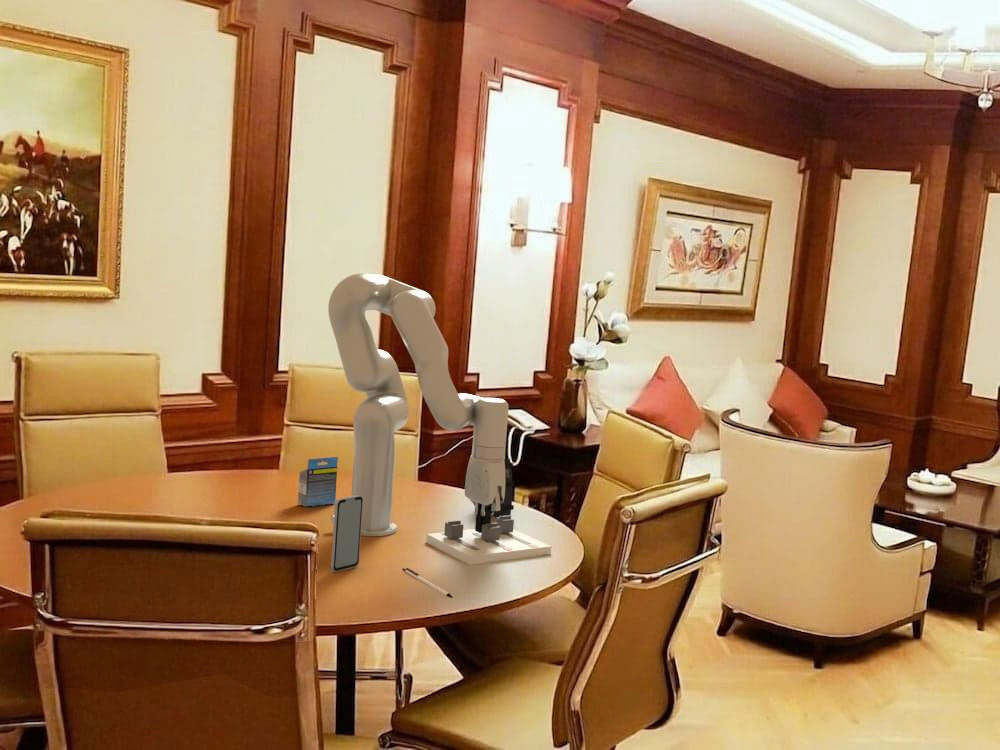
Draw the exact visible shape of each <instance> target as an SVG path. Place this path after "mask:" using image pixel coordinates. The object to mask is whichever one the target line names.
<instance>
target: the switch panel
mask: <svg viewBox="0 0 1000 750" xmlns="http://www.w3.org/2000/svg"><path fill="white" fill-rule="evenodd" d="M444 532H445V531H443V532H441V531H439V532H434V533H426V538H425V539H426V540H425V543H426V544H428V545H430V546H433V547H434V548H436V549H438V550H440V551H442V552H444V553H446V554H447V555H450V556H452V557H454V558H456V559H457V560H459V561H461V562H463V563H465V564H467V565H469V566H470V565H479V564H483V563H485V564H486V563H493V562H500V561H501V562H502V561H508V560H516V559H523V558H529V557H530V556H532V557H536V556H535V555H539V556H543V555H542V554H547V555H551V554H552V545H550V544H547V543H545V542H542V541H541V540H537V539H535V538H534V537H532V536H529V535H527V534H524V533H523V532H521V531H518V530H516V529H514V528H513V532H510V533H501V532H500V540H497V541H487V540H485V539H482V538H481V533H479V532H477V531H475V528H471V529H463V538H454V539H451V538H449V537H447V536H445V535H444ZM530 558H531V557H530Z"/></svg>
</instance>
